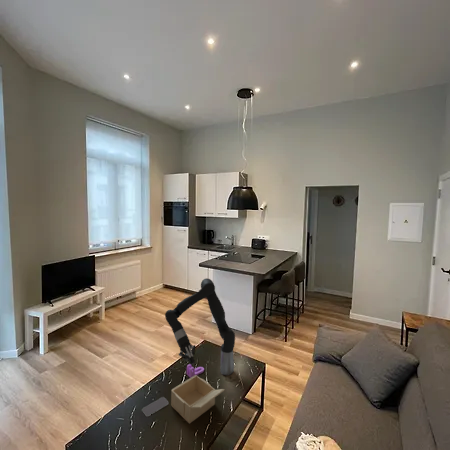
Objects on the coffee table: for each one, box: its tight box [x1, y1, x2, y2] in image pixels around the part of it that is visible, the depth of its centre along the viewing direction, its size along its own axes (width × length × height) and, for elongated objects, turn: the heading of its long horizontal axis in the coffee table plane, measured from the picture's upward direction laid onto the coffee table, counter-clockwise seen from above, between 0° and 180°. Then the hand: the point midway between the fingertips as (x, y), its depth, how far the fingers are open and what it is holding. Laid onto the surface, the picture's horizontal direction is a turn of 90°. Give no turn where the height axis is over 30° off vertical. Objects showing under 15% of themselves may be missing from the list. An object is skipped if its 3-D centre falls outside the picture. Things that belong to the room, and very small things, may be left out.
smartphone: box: [141, 396, 169, 418], centre depth 155 cm, size 7×1×15 cm
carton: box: [170, 375, 216, 425], centre depth 157 cm, size 21×19×10 cm
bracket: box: [186, 363, 205, 379], centre depth 187 cm, size 13×6×7 cm, turn 128°
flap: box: [191, 388, 225, 408], centre depth 147 cm, size 19×9×1 cm
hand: (193, 363), depth 160 cm, fingers closed
